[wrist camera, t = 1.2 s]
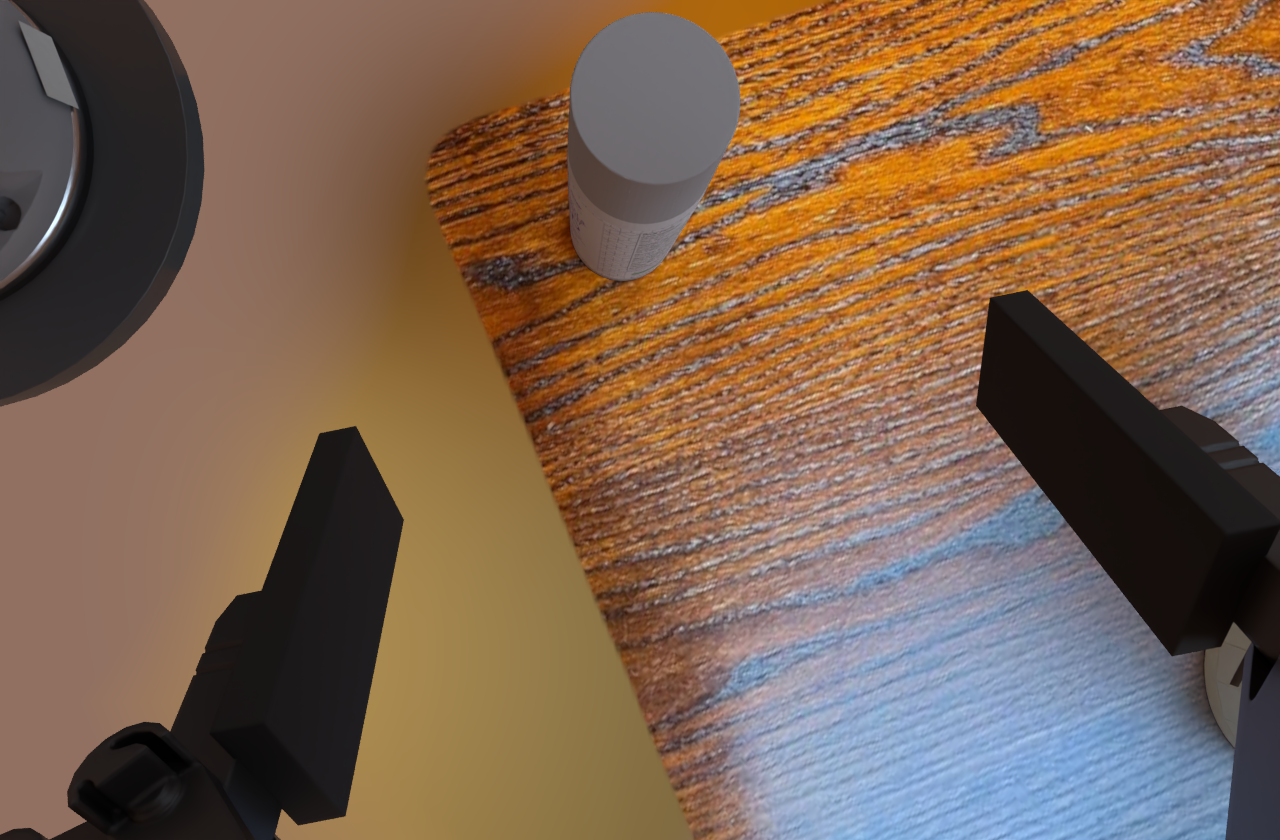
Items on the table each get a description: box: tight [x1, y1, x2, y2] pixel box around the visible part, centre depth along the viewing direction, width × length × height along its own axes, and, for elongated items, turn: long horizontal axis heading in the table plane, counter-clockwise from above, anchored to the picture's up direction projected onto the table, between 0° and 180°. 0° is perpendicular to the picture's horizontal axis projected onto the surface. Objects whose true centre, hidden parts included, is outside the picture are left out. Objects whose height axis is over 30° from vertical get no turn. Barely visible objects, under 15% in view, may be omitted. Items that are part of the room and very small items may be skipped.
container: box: [567, 12, 740, 281], centre depth 27 cm, size 5×5×15 cm
